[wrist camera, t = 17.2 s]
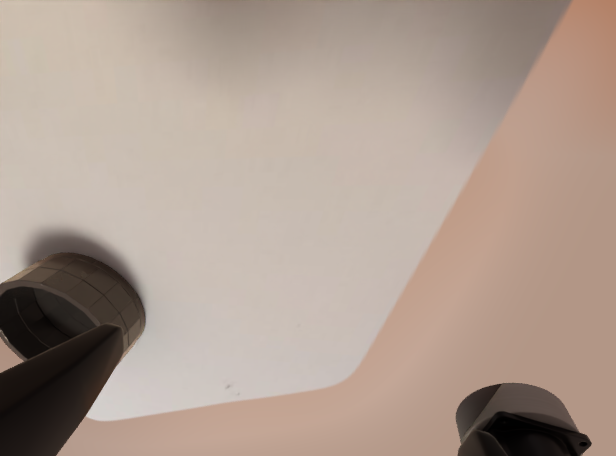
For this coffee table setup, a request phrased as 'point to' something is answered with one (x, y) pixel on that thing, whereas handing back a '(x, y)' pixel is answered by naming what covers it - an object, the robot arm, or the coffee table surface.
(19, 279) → the dark round bowl
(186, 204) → the coffee table surface
